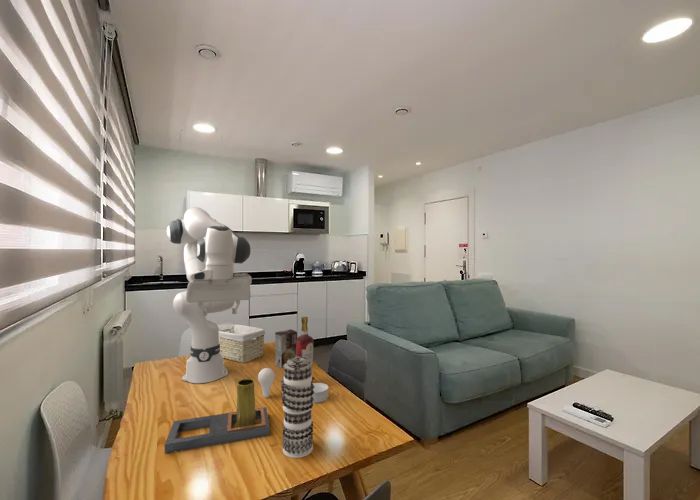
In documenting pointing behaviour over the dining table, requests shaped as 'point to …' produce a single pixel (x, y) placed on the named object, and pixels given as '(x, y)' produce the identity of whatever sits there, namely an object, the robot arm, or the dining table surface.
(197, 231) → the robot arm
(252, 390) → the vase
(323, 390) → the ramekin
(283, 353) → the coffee box
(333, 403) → the dining table surface
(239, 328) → the storage basket
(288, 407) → the decorative candle
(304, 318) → the liquor
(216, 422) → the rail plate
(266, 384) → the lightbulb
